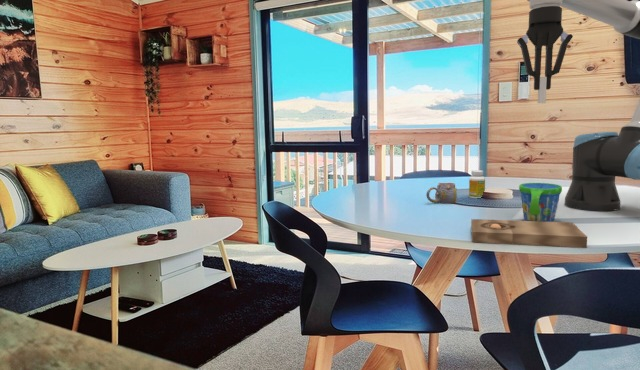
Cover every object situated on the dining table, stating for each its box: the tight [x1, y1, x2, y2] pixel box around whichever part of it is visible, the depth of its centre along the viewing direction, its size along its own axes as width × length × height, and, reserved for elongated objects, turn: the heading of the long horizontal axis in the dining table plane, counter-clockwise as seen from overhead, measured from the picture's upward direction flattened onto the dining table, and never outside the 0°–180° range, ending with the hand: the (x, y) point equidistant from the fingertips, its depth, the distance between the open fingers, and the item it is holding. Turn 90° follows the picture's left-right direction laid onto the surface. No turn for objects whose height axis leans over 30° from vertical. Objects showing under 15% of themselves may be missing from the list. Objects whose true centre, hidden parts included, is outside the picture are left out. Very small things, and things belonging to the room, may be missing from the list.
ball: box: [490, 224, 501, 228], centre depth 113 cm, size 3×3×3 cm
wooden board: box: [470, 218, 588, 249], centre depth 111 cm, size 24×14×2 cm, turn 73°
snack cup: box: [518, 182, 563, 222], centre depth 126 cm, size 16×10×10 cm
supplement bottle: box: [468, 169, 486, 199], centre depth 166 cm, size 5×5×10 cm
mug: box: [425, 182, 458, 205], centre depth 158 cm, size 12×7×7 cm, turn 113°
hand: (541, 102), depth 120 cm, fingers closed
